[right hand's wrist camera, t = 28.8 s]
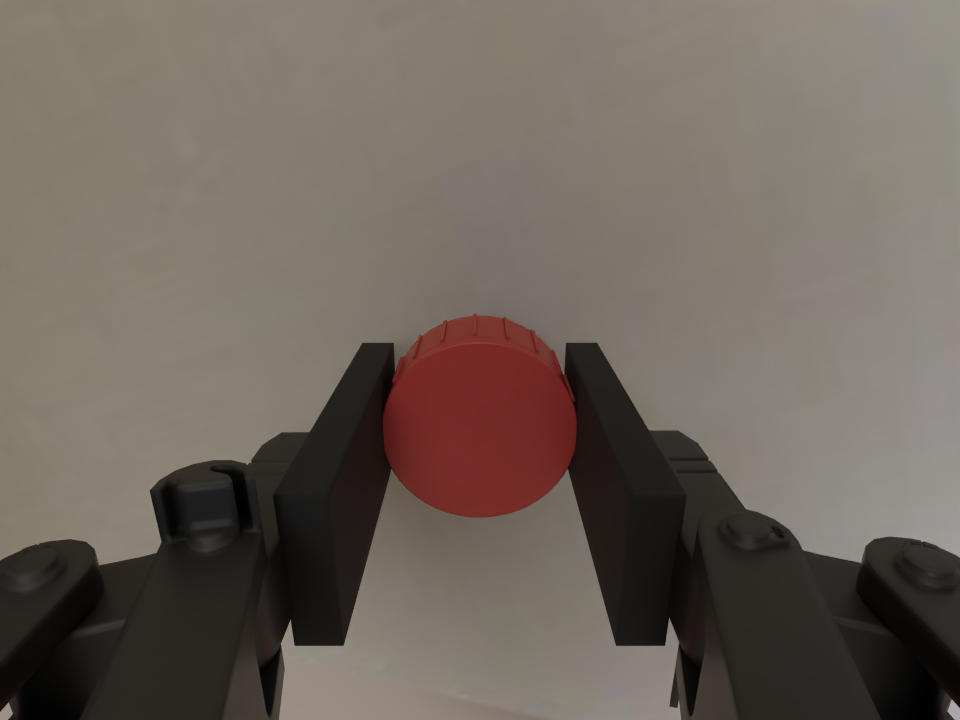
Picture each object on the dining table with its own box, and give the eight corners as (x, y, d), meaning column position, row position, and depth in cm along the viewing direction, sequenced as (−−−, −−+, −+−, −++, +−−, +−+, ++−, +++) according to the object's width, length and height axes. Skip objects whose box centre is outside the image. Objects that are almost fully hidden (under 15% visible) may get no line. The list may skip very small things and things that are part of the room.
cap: (456, 276, 13) (452, 298, 11) (603, 377, 14) (622, 412, 12) (359, 416, 15) (341, 456, 13) (500, 501, 16) (502, 550, 14)
